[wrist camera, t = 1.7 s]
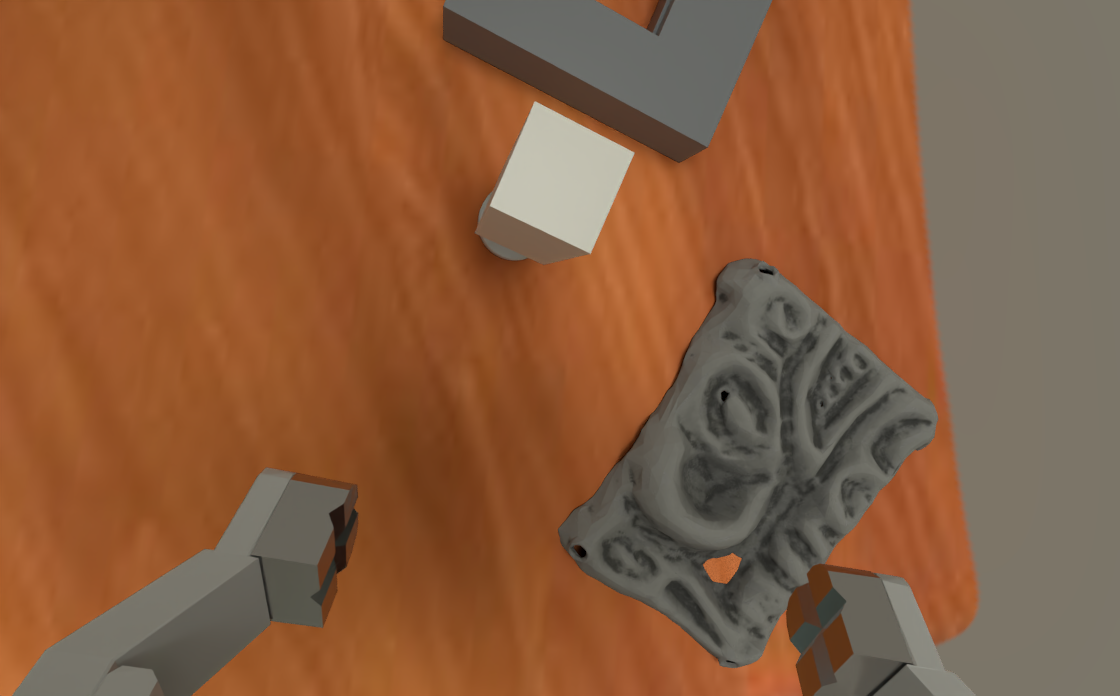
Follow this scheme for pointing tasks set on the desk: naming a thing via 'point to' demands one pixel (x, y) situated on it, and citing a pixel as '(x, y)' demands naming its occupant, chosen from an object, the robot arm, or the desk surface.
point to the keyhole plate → (620, 59)
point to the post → (552, 191)
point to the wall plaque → (749, 465)
